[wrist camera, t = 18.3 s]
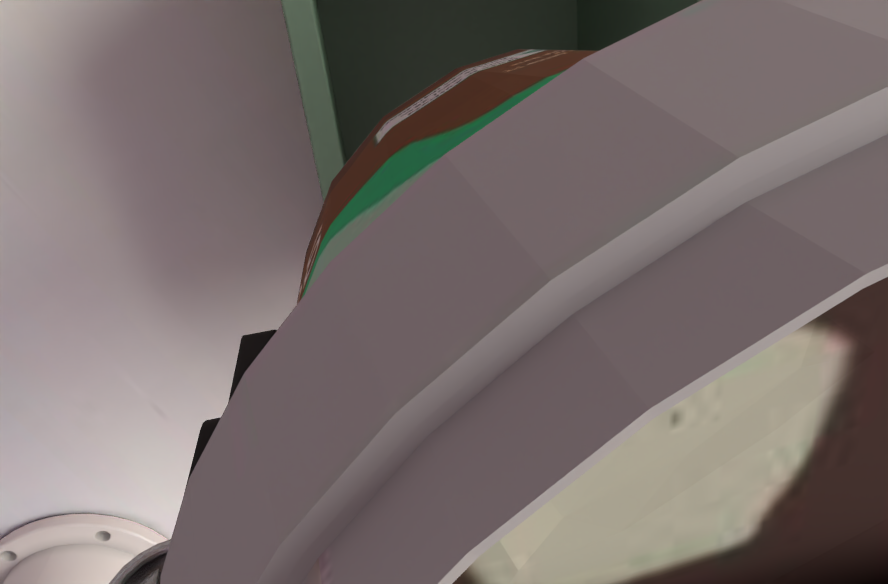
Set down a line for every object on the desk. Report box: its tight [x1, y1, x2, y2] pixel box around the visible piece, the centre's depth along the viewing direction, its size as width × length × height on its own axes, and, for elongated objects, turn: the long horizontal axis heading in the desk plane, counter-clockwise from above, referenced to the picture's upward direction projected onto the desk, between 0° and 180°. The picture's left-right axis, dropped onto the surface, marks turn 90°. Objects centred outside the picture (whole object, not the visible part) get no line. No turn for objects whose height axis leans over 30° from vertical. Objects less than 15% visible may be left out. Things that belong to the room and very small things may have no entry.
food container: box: [160, 0, 888, 584], centre depth 9 cm, size 12×6×10 cm, turn 10°
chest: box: [281, 0, 701, 202], centre depth 27 cm, size 14×17×12 cm
